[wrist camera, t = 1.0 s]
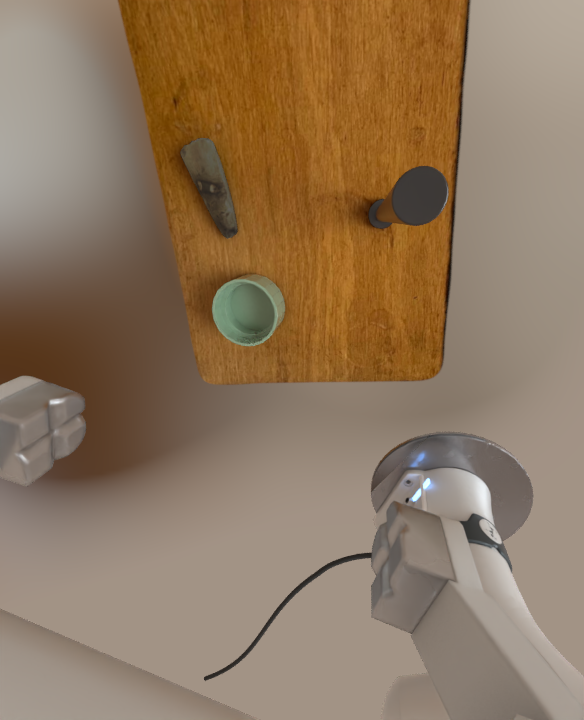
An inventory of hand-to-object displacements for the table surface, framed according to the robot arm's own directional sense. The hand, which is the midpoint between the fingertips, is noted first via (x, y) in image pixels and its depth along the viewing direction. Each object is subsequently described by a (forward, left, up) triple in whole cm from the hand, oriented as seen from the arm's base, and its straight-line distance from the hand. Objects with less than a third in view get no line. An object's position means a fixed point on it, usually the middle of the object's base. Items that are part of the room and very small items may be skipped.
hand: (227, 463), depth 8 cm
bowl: (-13, +8, -45) cm, 47 cm away
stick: (+8, -1, -45) cm, 45 cm away
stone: (-2, +22, -45) cm, 50 cm away
